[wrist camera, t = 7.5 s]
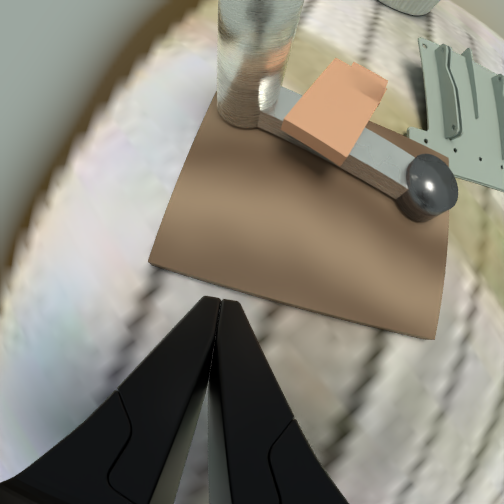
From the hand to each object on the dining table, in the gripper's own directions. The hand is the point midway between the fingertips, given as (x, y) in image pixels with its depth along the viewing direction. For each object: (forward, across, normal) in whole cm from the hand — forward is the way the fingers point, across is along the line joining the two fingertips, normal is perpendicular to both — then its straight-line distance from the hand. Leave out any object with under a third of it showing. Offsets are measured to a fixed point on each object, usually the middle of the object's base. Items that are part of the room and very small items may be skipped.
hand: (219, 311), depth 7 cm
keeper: (+15, -5, -2) cm, 16 cm away
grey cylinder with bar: (+13, -5, -2) cm, 14 cm away
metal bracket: (+20, -18, -6) cm, 28 cm away
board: (+12, -5, +1) cm, 13 cm away
